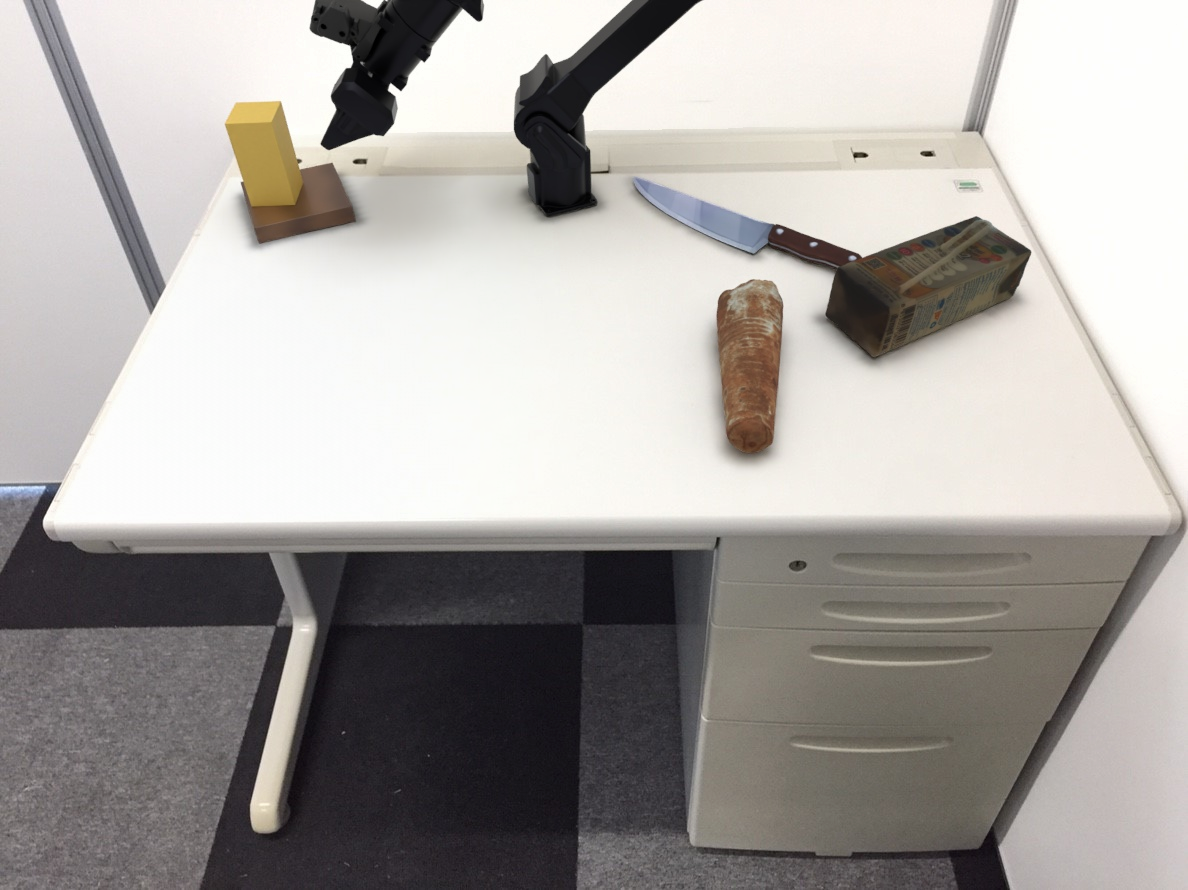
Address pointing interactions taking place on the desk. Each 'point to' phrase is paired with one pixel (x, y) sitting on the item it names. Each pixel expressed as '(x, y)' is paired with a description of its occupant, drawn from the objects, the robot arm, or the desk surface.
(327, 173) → the cutting board
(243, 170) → the butter
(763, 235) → the kitchen knife
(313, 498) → the desk surface
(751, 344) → the orange-brown tapered rod
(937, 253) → the beverage carton
